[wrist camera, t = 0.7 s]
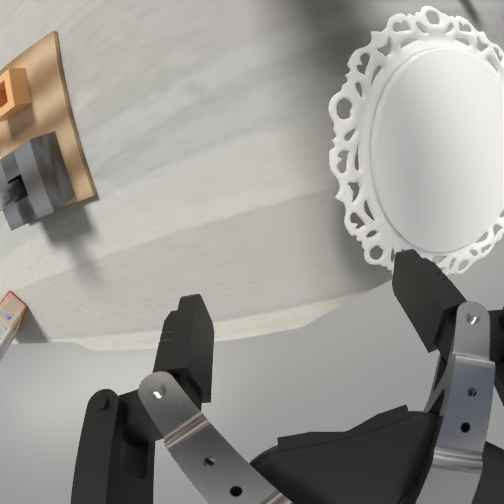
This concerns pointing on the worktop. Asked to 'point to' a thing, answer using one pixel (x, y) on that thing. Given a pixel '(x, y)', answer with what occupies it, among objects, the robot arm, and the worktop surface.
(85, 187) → the bearing block
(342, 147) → the white openwork bowl
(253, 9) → the worktop surface
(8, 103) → the block
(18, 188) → the steel shaft
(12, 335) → the cracker box
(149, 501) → the robot arm
